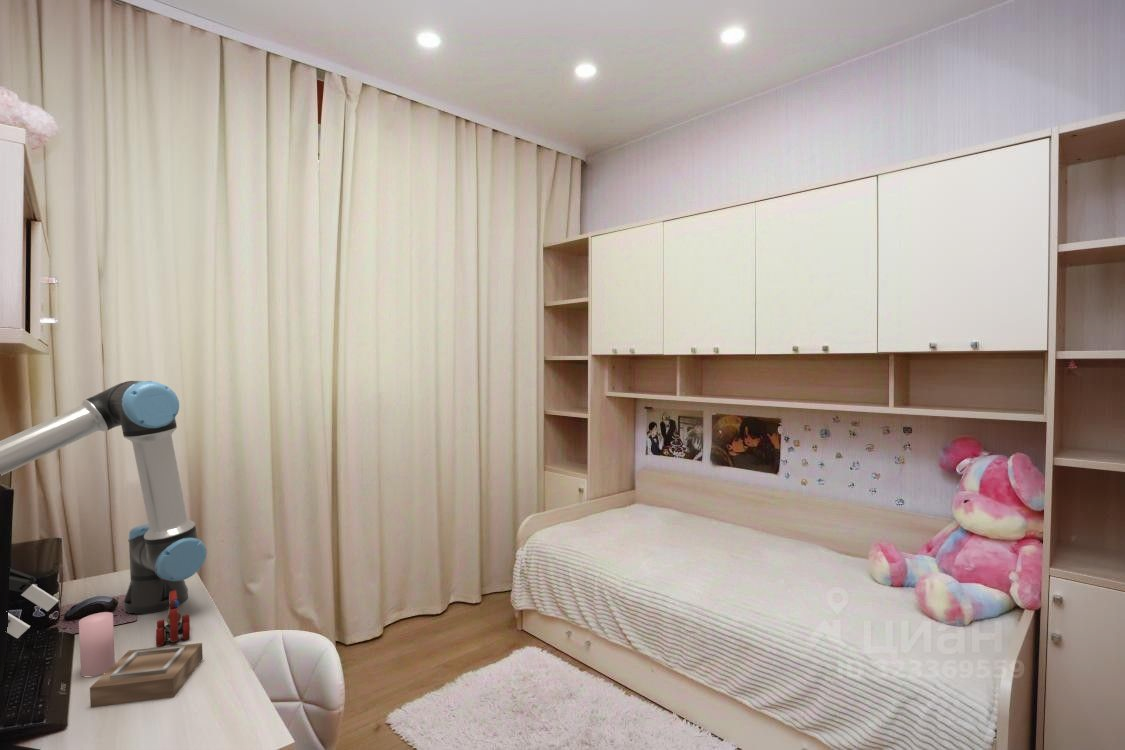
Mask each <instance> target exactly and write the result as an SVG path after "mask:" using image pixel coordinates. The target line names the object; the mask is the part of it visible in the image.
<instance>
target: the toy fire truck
mask: <svg viewBox="0 0 1125 750" xmlns="http://www.w3.org/2000/svg"><path fill="white" fill-rule="evenodd" d="M179 606H180V604H179V601H178V600H177V591H176V590H174V591H170V592H169V609H167V617H166V625H165V619H160V620H157V621H156V631H155V632H156V633H155V638H156V639H155V640H156V641H155V643H156V647H162V646H164V645H165V642H167V641H170V643H173V642H177V641H178V640H179V636H180V635H181V637H182V641H185V640H189V639H190V636H191V635H190V634H191V633H190V631H191V630H190V628H191V626H190V624H191V623H190V622H191V621H190V614H184V615H181V614H180V613H179V608H178V607H179Z"/></svg>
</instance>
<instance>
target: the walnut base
mask: <svg viewBox="0 0 1125 750" xmlns="http://www.w3.org/2000/svg"><path fill="white" fill-rule="evenodd" d="M203 656H204V655H203V642H198V643H197V642H196V643H189V644H177V645H169V646H168V645H167V646H156V647H150V648H149V647H148V648H140V649H132V650H131V649H130V650H128V651H127V652H126V653H124V655H123V656H121V657H120V658H119V659H118V660H117V661H115V664H114V665H113V666H112V667H111V668H110V669H109V670H108V671H107V672H106V673H105V674H102V675H101V677H99V679H97V681H95V682H94V683H93V684H91V686H90V687H89V701H90V703H89V704H90V708H96V707H101V706H110V705H118V704H127V703H134V702H135V703H136V702H144V701H151V700H152V701H153V700H160V699H161V700H163V699H168V698H174V697H175V696H176V694H177V693H178V692H180V690H181V688H182V687H183V686H184V684H185V683H187V681H188V679H189V678H190V677H189V676H191V675H192V674H193V673H194V672H195V670H196V669H197V668H196V667H199V665H200V664H201V662H202V661H203V660H202V659H203ZM201 660H202V661H201ZM199 663H200V664H199ZM198 664H199V665H198ZM195 668H196V669H195ZM192 672H193V673H192Z"/></svg>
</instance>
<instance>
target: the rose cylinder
mask: <svg viewBox="0 0 1125 750" xmlns="http://www.w3.org/2000/svg"><path fill="white" fill-rule="evenodd" d="M78 633H79V634H78V635H79V636H78V637H79V639H78V640H79V660H80V661H79V663H80V664H79V665H80V676H81V675H83V676H96V677H98V676H97V675H100V676H102V675H104V673H106V672H107V671H108V670H109V669H110V668H111V667H112V666H113V665H114V664H115V663H116V658H115V656H116V655H115V634H114V633H115V629H114V613H113V612H109V611H103V612H102V611H101V612H98V613H96V612H95V613H92V614H89V615H87V616H85V617H82V618H81V619H79V621H78ZM101 674H102V675H101Z"/></svg>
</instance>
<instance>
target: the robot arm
mask: <svg viewBox="0 0 1125 750" xmlns="http://www.w3.org/2000/svg"><path fill="white" fill-rule="evenodd" d="M179 411H180V400H179V398H178V395H177V394H176V392H175V391H174V390H173V389H171V388H170V387H169V386H168V385H165V384H163V383H160V382H158V381H153V380H140V381H139V380H127V381H124V382H120V383H118V384H115V385H114V386H111V387H109V388H107V389H105V390H103V391H101V392H99V393H97V394H95V395H93V396H91V397H88V398H85V399H84V400H82V402H81V405H80V406H77V407H75V408H73V409H71V410H69V411H67V412H63V413H62V414H59V415H57V416H55V417H53V418H50V419H48V420H46V421H43V422H41V423H39V424H36V425H33V426H32V427H29V428H27V429H25V430H22V431H21V432H20V431H19V432H18V433H16V434H14V435H13V434H12V435H11V436H8V437H6V438H4V439H2V440H0V474H1V476H0V477H2V476H3V475H4V476H5V475H6V474H8V473H11V472H13V471H14V470H17V469H19V468H21V467H23V466H25V465H28V464H29V463H32V462H34V461H36V460H38V459H40V458H42V457H45V456H48V455H49V454H51V453H53V452H55V451H57V450H60V449H62V448H64V447H66V446H67V445H70V444H72V443H74V442H76V441H79V440H81V439H83V438H85V437H87V436H90V435H91V434H94V433H96V432H98V431H99V432H107V431H109V430H112V429H114V428H116V427H119V426H121V430H122V431H121V432H122V436H123V438H124V439H126V440H129V441H130V442H131V443H132V448H133V454H134V457H135V463H136V468H137V474H138V478H139V484H140V489H141V492H142V493H141V494H142V498H143V502H144V503H143V504H144V508H145V513H146V518H147V523H145V524H141V525H138V526H135V527H133V528H132V529H130V530H129V534H128V546H129V547H128V548H129V550H128V551H129V569H130V570H129V571H130V581H129V585H128V588H127V590H126V593H125V597H124V600H123V611H124V610H125V611H126V612H129V613H135V614H134V615H147V614H152V613H157V612H161V611H166V610H169V592H170V591H174V590H176V591H177V600H178V601H179V605H181V604H182V603H184V602H185V601H187V599H188V597H189V590H188V586H187V584H186V582H185V580H187V579H189V578H191V577H193V576H194V575H195V574H197V573H198V572H199V571H200V569H201V568H202V567H203V565H204V564H205V561H206V559H207V551H208V550H207V547H206V546H205V544H204V542H203V541H202V540H201V539H199V538H198V532H197V528H196V527H197V526H196V522H195V521H192V520H191V519H188V517H187V515H188V514H187V510H186V506H185V500H184V494H183V490H182V489H183V488H182V483H181V478H180V474H179V467H178V462H177V457H176V453H175V452H176V451H175V447H174V441H173V437H172V435H173V434H174V432H175V431H176V430H177V428H178V426H177V420H176V416H177V415H178V413H179ZM9 568H10V577H9V590H8V591H15V592H18V593H21V594H20V596H22V597H24V598H25V599H27V600H28V601H30V602H31V603H33V604H34V605H36V606H38V607H40V608H41V609H42V610H45V611H46V612H49V611H50V610H51V609H53V607H54V606H55V605H57V603H59V601H60V600H59V599H58V598H56V597H54V596H53V595H51V594H50V593H48V592H46V591H45V590H43V589H42V588H40V587H38V586H37V585H35V584H34V583H35V582H36V581H37V579H36V578H35V577H34V575H30V574H27V573H25V572H23V571H20V570H16V569H13V568H11V567H9ZM125 611H124V612H125ZM126 612H125V613H126ZM129 613H128V614H129ZM30 627H31V625H29V624H28V623H26V622H24V621H23V620H22V619H19V618H18V617H16V616H14V615H13V614H11V613H9V612H8V627H7V632H6V633H7V634H9V635H10V636H12V637H14V638H16V639H19V638H20V637H21V636H22V635H23V634H24V633H25V632H27V630H28V629H30Z"/></svg>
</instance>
